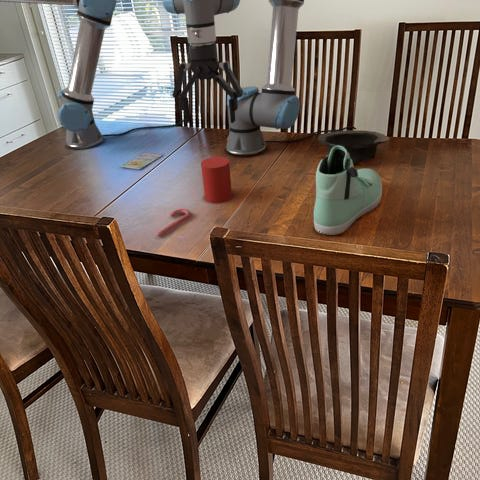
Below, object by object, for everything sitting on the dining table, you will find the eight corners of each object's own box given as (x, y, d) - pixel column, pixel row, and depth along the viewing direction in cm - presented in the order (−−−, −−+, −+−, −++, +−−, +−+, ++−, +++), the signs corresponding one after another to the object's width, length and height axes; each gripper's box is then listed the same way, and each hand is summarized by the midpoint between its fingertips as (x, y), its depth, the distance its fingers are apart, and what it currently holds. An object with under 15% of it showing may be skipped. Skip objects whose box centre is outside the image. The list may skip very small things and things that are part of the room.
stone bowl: (346, 175, 157) (346, 148, 153) (303, 158, 178) (302, 133, 173) (403, 157, 166) (405, 130, 162) (356, 142, 186) (356, 118, 182)
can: (206, 204, 147) (202, 169, 141) (203, 193, 155) (199, 158, 149) (234, 201, 148) (231, 165, 142) (230, 189, 156) (226, 155, 150)
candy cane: (144, 233, 135) (143, 228, 134) (179, 210, 145) (179, 206, 144) (160, 238, 132) (159, 233, 131) (195, 214, 142) (194, 210, 141)
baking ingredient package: (119, 165, 178) (143, 152, 189) (120, 167, 178) (143, 153, 189) (139, 168, 174) (162, 154, 185) (139, 169, 174) (162, 155, 186)
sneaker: (389, 187, 148) (396, 123, 138) (356, 242, 123) (361, 168, 112) (346, 181, 154) (350, 119, 144) (306, 232, 129) (307, 161, 118)
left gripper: (-90, 32, 155) (-64, 97, 166) (-8, 23, 162) (12, 86, 173) (-86, 29, 161) (-61, 93, 172) (-6, 20, 168) (13, 82, 179)
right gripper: (153, 47, 127) (165, 125, 138) (244, 44, 122) (249, 125, 133) (163, 42, 134) (174, 117, 145) (250, 39, 128) (255, 117, 139)
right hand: (210, 121), depth 139 cm, fingers open, 13 cm apart
